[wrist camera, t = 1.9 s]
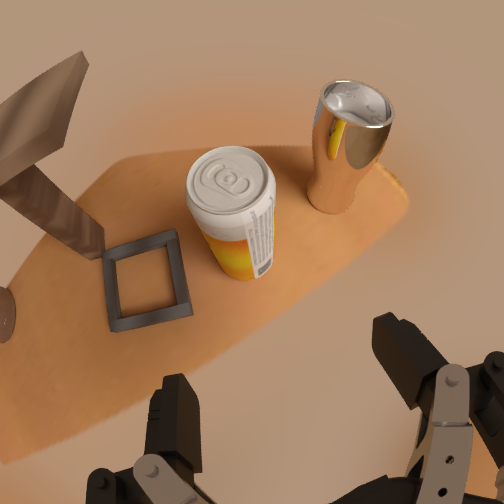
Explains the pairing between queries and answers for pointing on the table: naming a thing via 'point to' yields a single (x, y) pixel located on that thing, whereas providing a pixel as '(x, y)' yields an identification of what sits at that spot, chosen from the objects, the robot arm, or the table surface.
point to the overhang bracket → (60, 205)
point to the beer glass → (346, 141)
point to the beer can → (234, 209)
